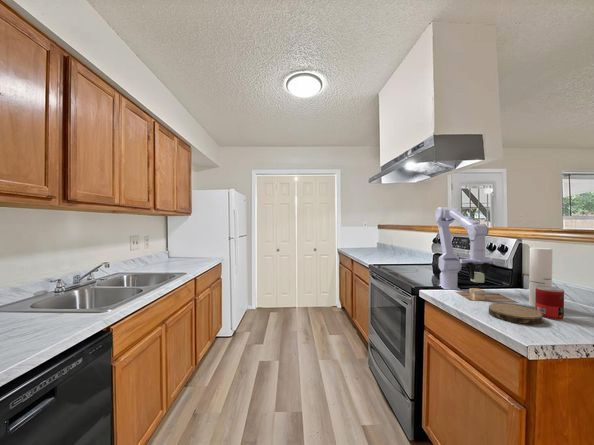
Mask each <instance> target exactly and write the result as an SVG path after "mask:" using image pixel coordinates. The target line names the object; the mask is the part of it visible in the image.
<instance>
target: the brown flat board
mask: <svg viewBox="0 0 594 445" xmlns="http://www.w3.org/2000/svg"><path fill="white" fill-rule="evenodd" d="M455 293H456V294H458V295H460V296H461V297H462V298H465V300H468V301H472V302H489V303H491V302H492V303H510V304H511V303H516V304H519V302H518V301H516V300H514V299H511V298H510V297H507V296H505V295H502V294H500V293H495V292H494V293H492V292H491V293H490V292H489V293H488V292H485V300H475V299H473V298H471V297H470V291H468V292H467V291H466V292H465V291H455Z"/></svg>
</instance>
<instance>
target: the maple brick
mask: <svg viewBox="0 0 594 445" xmlns="http://www.w3.org/2000/svg"><path fill="white" fill-rule="evenodd" d="M469 292H470V297H471V298H473V299H475V300H485V293H486V291H485V290H484V289H481V288H469Z"/></svg>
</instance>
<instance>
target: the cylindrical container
mask: <svg viewBox="0 0 594 445" xmlns="http://www.w3.org/2000/svg"><path fill="white" fill-rule="evenodd" d="M528 272H529V275H528V276H529V277H528V278H529V279H528V280H529V282H528V283H529V284H528V285H529V286H528V290H529V291H528V292H529V293H528V305H529V306H532V307H534V308H535V302H536V286H540V285H541V286H552V287H553V248H549V247H529V271H528Z"/></svg>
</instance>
